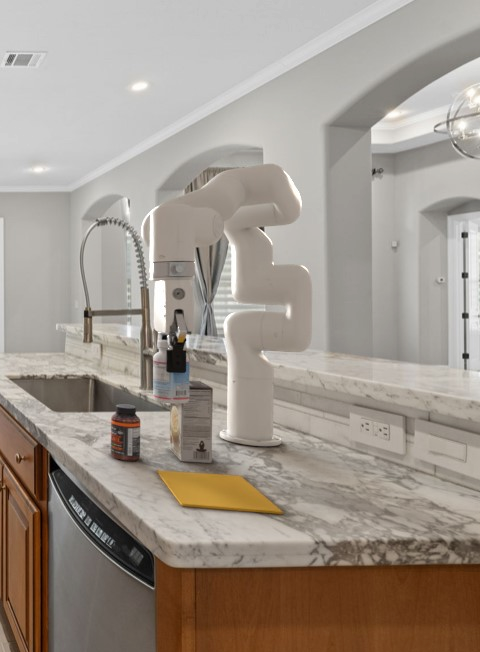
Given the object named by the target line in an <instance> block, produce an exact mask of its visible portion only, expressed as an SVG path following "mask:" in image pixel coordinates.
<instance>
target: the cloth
mask: <svg viewBox="0 0 480 652" xmlns="http://www.w3.org/2000/svg"><path fill="white" fill-rule="evenodd" d="M156 473H157V474H158V476H159V477H160V478H161V480H162V481H163V482H164V484H165V485H166V487H167V488H168V489H169V490H170V492H171V493H172V495H173V496H174V497H175V499H176V500H177V502H178V503H179V505H180V506H181V507H189V508H200V509H201V508H202V509H213V510H226V511H227V510H228V511H238V512H248V513H249V512H251V513H262V514H276V515H277V514H278V515H284V511H282V509H280V508H279V507H278V506H277V505H276V504H275V503H274V502H272V501H271V500H270V499H268V498H267V497H266V496H265V495H264V494H263V493H261V492H260V491H259V490H258V489H257V488H255V487H254V486H253V485H252V484H251V483H250V482H249V481H248V480H246V479H245V478H244V477H243V476H241V475H234V474H219V473H203V472H191V471H175V470H173V471H172V470H162V469H161V470H159V469H157V470H156Z"/></svg>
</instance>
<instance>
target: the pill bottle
mask: <svg viewBox="0 0 480 652" xmlns="http://www.w3.org/2000/svg"><path fill="white" fill-rule="evenodd" d="M157 340H158V339H157ZM156 342H157V343H156V348H157V347H158V349H159V352H157V351H156V352H155V354H154V355H153V357H152V361H153V362H152V366H153V367H152V387H153V388H152V391H153V396H152V397H153V399H154V401H156V402H159V403H164V404H170V403H171V404H183V403H187V402H188V401H189V381H190V357H189V355H188V354H187V353H186V372H185V373H169V372H167V371H166V350H168V341H167V340H158V341H156ZM172 342H173V340H172Z"/></svg>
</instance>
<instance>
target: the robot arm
mask: <svg viewBox="0 0 480 652" xmlns="http://www.w3.org/2000/svg"><path fill="white" fill-rule="evenodd" d="M302 208H303V204H302V198H301V195H300V192H299V191H298V188H297V187H296V186H295V184H294V182H293V180H292V179H291V177H290V175H289V174H288V173H287V172H286V171H285V170H284V169H283V168H282V167H281V166H279V165H278V164H275V163H263V164H256V165H255V164H254V165H249V166H242V167H236V168H231V169H226V170H224V171H221V172H219V173H217V174H216V175H215V176H213V177H212V178H211V179H210V180H209V181H208V182H206V183H205V184H204V185H203V186H202V187H201V188H198V189H195V190H193V191H190V192H187V193H185V194H182V195H180V196H177V197H175V198H174V197H173V198H172V199H169V200H167V201H164V202H162V203H160V204H159V205H157V206H156V207H153V209H152V210H150V212H149V213H148V214H146V215H145V217H144V219H143V221H142V224H141V229H140V236H141V239H142V242H143V243H144V245H145V246H146V247H147V248H149V278H148V279H149V282H154V290H153V292H154V293H153V294H154V295H153V328H154V330H155V331H156V332H157V339H156V340H157V341H158V340H167V341H168V350H166V371H167V372H169V373H185V372H186V354H187V335H189V336H192V335H193V334H194V333H195V330H196V326H195V325H196V324H195V302H194V289H193V282H192V281H195V280H196V248H205V247H210V246H213V245H215V244H216V243H218V242H219V241H220V240H221V238H222V237H223V234H224V235H225V237H226V238H227V241H228V243H229V246H230V252H231V254H230V255H231V261H230V262H231V268H230V269H231V272H230V273H231V274H230V279H231V280H230V281H231V282H230V285H231V287H230V289H231V296H232V298H233V300H234V301H235V302H236V303H238V304H242V305H251V306H252V305H253V306H283V307H284V308H285V309H286V310H258V309H256V310H255V309H254V310H253V309H247V310H245V309H244V310H236V311H234V312H231V313H230V314H228V315H227V316H226V317H225V318H224V321H223V335H224V336H223V337H224V341H225V346H226V357H227V385H226V386H227V388H226V390H227V393H226V395H227V397H226V399H227V401H226V429H222V430H220V431H219V437H220V438H221V439H222V440H225V441H227V442H230V443H234V444H238V445H239V444H240V445H244V446H253V447H254V446H255V447H277V446H280V445H281V444H282V438H281V437H280V436H278V435H276V434H274V406H275V405H274V402H275V401H274V399H275V398H274V396H275V395H274V394H275V383H274V382H275V369H274V366H273V364H272V363H271V361H270V360H269V359H268V357H266V355H265V354H264V353H263V352H281V353H302V352H304V351H306V350H308V349H309V347H310V345H311V342H312V337H313V282H312V281H313V280H312V276H311V274H310V271H309V269H308V268H306V267H305V266H304V265H300V264H294V263H291V264H290V263H288V264H274V245H273V241H272V239H270V238H269V236H268V235H267V234H266V232H264V231H263V230H262V229H260V228H266V227H279V226H287V225H290V224H293V223H295V222H296V221H298V219H299V217H300V216H301V213H302V210H303V209H302ZM172 340H173V342H172ZM157 341H156V342H157ZM157 352H159V349H158V347H157V346H156V353H157Z"/></svg>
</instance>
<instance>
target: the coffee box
mask: <svg viewBox="0 0 480 652" xmlns="http://www.w3.org/2000/svg"><path fill="white" fill-rule="evenodd" d="M213 392H214V388H213V387H211V386H210V385H207V384H205V382H202V381H200V380H189V401H188V402H187V403H183V404H171V403H169V450H170V451H171V452H172V453H173V454H174V456H175V457H177V459H178V460H179V461H180V462H185V463H205V464H212V461H213V460H212V458H213V457H212V456H213V455H212V454H213V408H214V407H213V405H214V404H213V403H214V402H213V401H214V398H213V397H214V393H213Z"/></svg>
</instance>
